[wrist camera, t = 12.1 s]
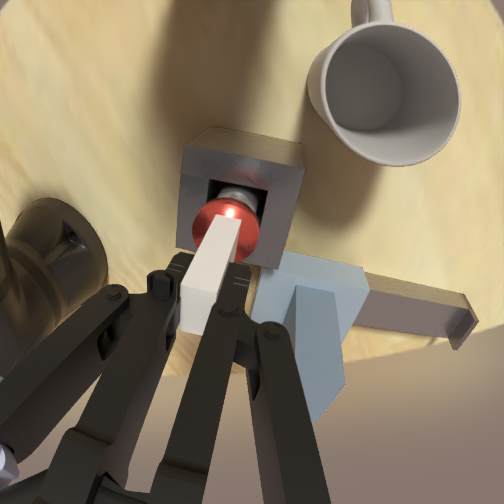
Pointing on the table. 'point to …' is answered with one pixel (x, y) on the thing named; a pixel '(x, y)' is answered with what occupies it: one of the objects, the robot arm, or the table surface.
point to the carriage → (313, 318)
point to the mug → (385, 89)
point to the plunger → (236, 206)
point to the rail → (415, 309)
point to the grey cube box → (243, 173)
